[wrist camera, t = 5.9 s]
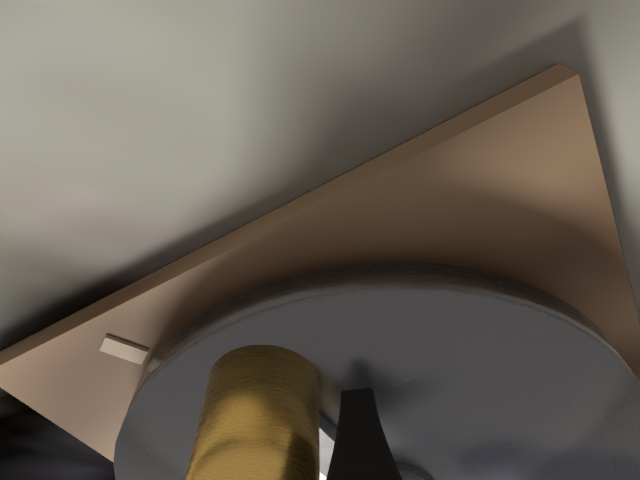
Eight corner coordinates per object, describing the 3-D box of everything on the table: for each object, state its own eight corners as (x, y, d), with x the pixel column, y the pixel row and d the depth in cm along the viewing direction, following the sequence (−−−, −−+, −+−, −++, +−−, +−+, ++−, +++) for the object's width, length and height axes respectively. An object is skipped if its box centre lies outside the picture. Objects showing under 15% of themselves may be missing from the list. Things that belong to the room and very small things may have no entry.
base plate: (664, 459, 21) (680, 484, 20) (291, 559, 26) (290, 582, 25) (559, 63, 11) (581, 75, 10) (-2, 352, 16) (-21, 377, 16)
